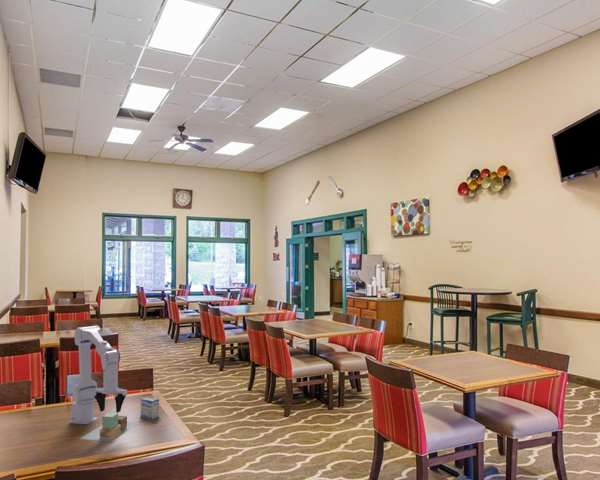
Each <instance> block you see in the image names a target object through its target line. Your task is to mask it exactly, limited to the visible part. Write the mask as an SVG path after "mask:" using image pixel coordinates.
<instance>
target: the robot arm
mask: <svg viewBox="0 0 600 480" xmlns="http://www.w3.org/2000/svg"><path fill="white" fill-rule="evenodd" d="M101 333H102V331H101V327H100V326H99V325H97V324H95V325H91V326H82V327H76V329H75V331H74V343H75V346H78V363H79V364H78V365H79V366H78V367H79V369H78V370H79V381H78V382H77V383H76V384H75V385H74V386H73V390H72V391H73V392H72V399H73V403H72V404H71V407H70V421H69V423H70V424H82V425H85V424H86V425H89V424H90V423H92V422H94V421H96V420H98V419H99V417H96V416H95V402H96V403H97V406H98V409H99V412H103V411H105V408H106V396H107V395H114V401H115V411H116V413H118V414H119V413H120V412H121V410H122V406H123V403H124V401H125V400H126V399H125V398H126V396H127V395H128V389H123V388H119V386H118V385H119V373H118V372H119V367H118V366H119V363H120V362H121V353H120V351H119V349H115V348H113V347H112V346H111V344H110V343H109V342H108V341H107V340H104V339H103V337H102V334H101ZM92 344H93V345H94V346H95V351H96V352H97V354H98V355H99V356H100V362H101V368H102V370H103V372H102V373H103V375H102V376H103V377H102V378H103V380H102V381H103V382H102V383H103V387H98V383H97V381H94V380H93V379H92V362H91V361H92V360H91V359H92V358H91V345H92ZM115 395H116V396H115Z"/></svg>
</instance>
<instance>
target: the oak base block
mask: <svg viewBox="0 0 600 480" xmlns="http://www.w3.org/2000/svg"><path fill="white" fill-rule="evenodd" d="M120 433H121V425H119V424H118V425H117V426H116V427H114V428H113V429H104V428H100V437H102V438H114V437H115V436H117V435H118V434H120Z"/></svg>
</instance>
